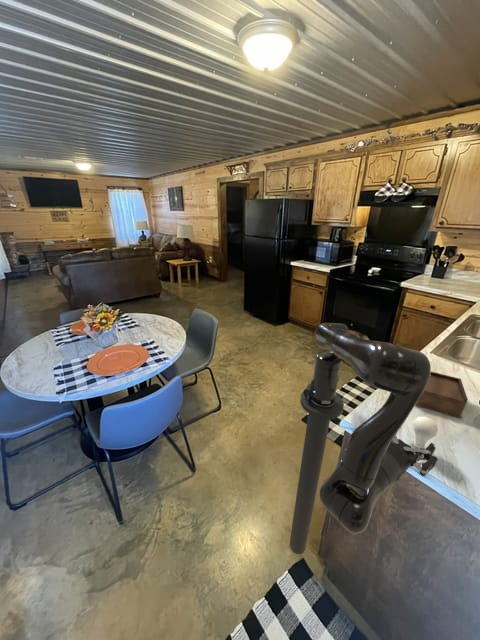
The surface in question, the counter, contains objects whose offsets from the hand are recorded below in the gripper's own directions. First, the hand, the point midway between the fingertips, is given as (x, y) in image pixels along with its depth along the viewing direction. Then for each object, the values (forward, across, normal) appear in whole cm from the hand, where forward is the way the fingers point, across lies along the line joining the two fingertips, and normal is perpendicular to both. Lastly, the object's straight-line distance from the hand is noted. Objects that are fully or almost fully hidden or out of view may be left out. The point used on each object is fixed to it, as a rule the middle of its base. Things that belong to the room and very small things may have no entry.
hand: (415, 435), depth 74 cm
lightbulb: (+7, 0, +9) cm, 12 cm away
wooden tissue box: (+36, +7, +9) cm, 38 cm away
